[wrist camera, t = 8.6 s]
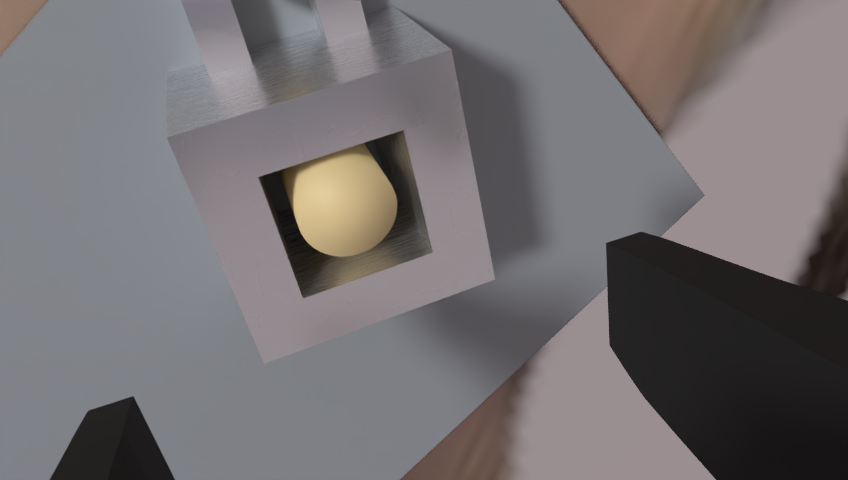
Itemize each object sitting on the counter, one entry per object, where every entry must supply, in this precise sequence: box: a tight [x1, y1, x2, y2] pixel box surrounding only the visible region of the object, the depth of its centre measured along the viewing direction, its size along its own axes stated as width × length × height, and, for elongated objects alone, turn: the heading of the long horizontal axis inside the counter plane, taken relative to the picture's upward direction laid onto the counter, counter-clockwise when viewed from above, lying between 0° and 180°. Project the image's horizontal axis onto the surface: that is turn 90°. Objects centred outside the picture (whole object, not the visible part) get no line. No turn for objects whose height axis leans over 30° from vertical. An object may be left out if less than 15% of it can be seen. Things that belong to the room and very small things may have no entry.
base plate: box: [0, 0, 704, 480], centre depth 18 cm, size 20×16×5 cm
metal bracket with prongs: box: [165, 0, 495, 364], centre depth 15 cm, size 8×5×4 cm, turn 12°
